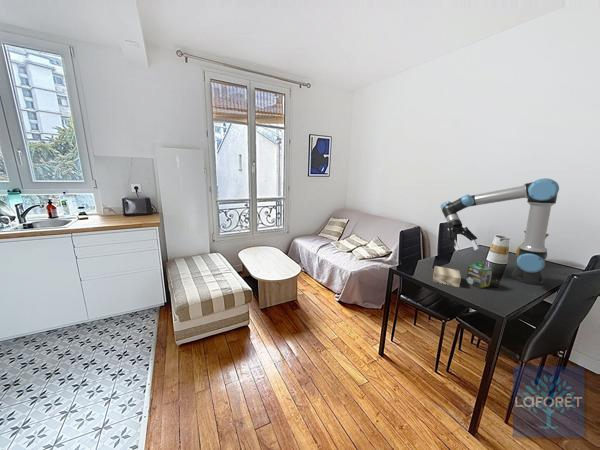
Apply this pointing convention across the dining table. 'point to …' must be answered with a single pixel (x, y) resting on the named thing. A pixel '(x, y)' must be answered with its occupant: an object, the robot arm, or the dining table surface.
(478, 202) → the robot arm
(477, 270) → the chalk box
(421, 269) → the dining table surface
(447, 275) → the birch block
